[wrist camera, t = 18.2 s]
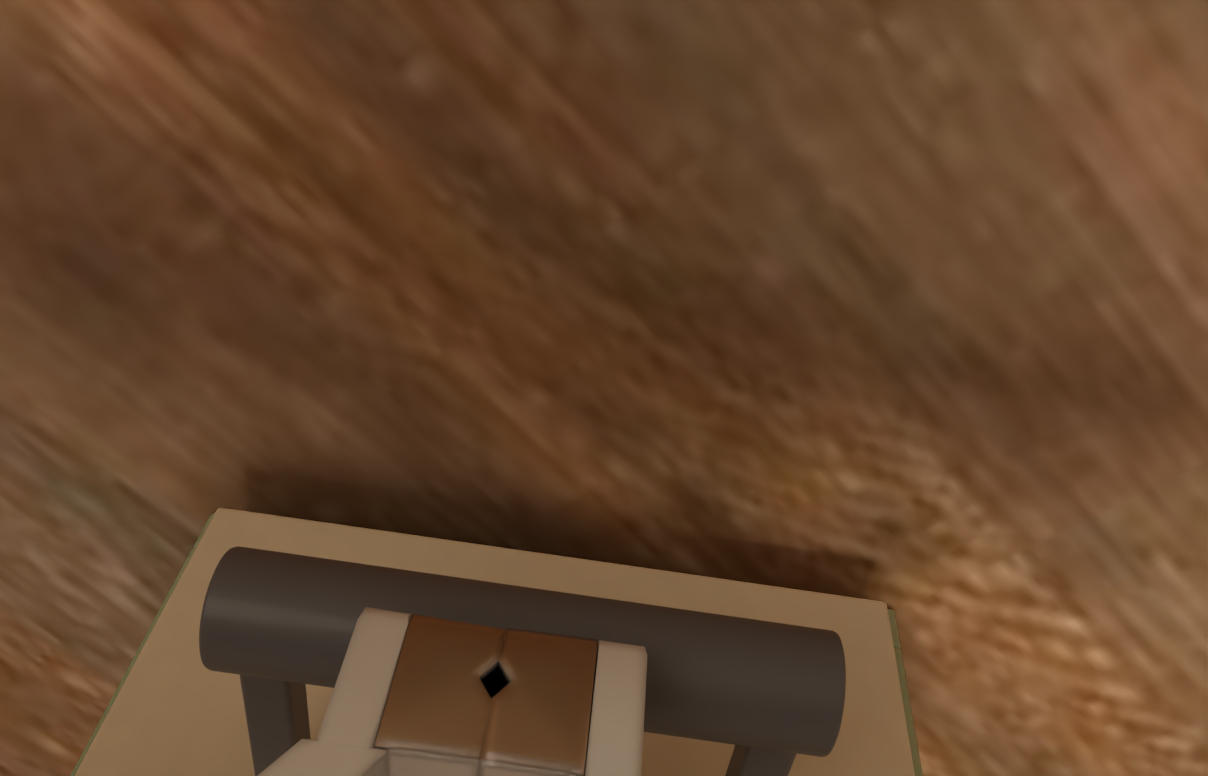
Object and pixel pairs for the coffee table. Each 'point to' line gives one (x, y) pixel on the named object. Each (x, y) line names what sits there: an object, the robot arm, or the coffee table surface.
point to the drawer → (502, 600)
